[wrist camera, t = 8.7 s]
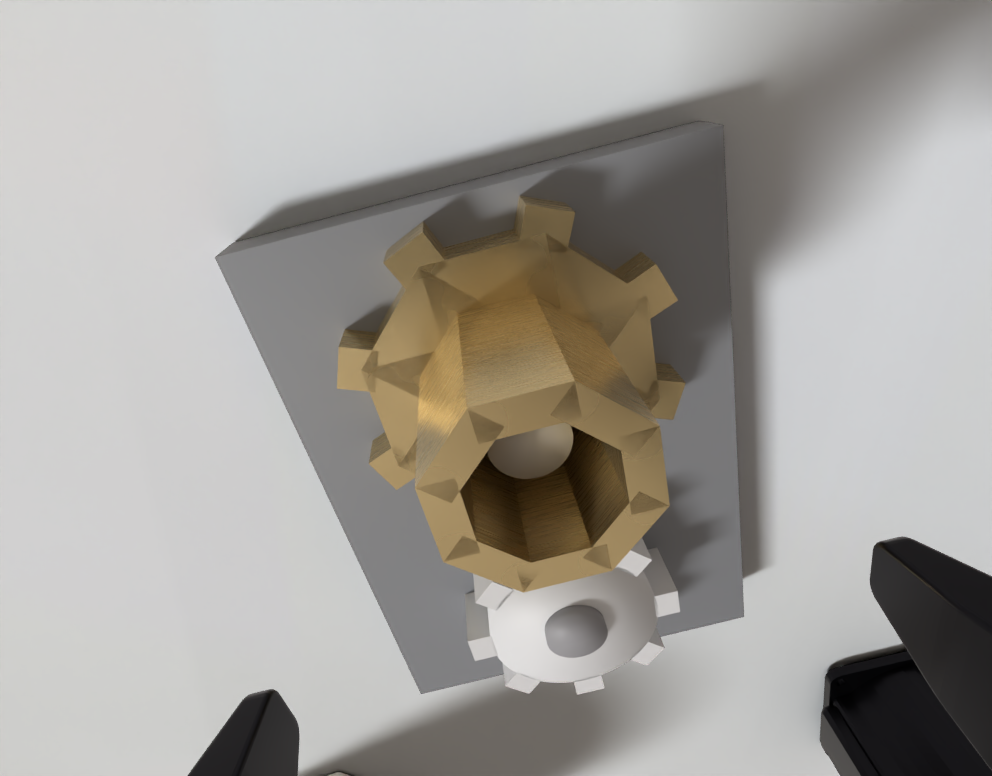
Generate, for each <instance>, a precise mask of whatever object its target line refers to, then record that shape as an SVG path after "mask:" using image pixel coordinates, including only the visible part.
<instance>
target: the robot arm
mask: <svg viewBox="0 0 992 776" xmlns="http://www.w3.org/2000/svg"><path fill="white" fill-rule="evenodd" d="M870 586H871V590H872V592H873V595H874V597H875V599H876V600H877V602H878V604H879V605H880V607H881V608H882V610H883V612H884V613H885V615H886V617H887V618H888V620H889V621H890V623H891V625H892V626H893V628H894V629H895V631H896V633H897V634H898V636H899V638H900V639H901V641H902V642H903V644H904V646H905V647H906V649H907V651H906V652H902V653H897V654H893V655H889V656H885V657H880V658H876V659H872V660H868V661H863V662H859V663H855V664H851V665H847V666H842V667H838V668H835V669H832V670H830V671H829V672H828V673H827V674H826V676H825V688H824V705H823V710H822V713H821V730H820V742H821V745H822V748H823V749H824V751H825V753H826V754H827V755H828V756H829V757H830V759H831V761H832V762H833V764H834V766H835V768H836V769H837V771H838V773H839V774H840V776H992V576H990V575H988V574H986V573H984V572H981V571H979V570H977V569H975V568H973V567H971V566H969V565H967V564H964V563H962V562H960V561H958V560H956V559H954V558H952V557H949V556H947V555H945V554H943V553H941V552H939V551H937V550H935V549H932V548H930V547H928V546H926V545H924V544H922V543H920V542H918V541H915V540H913V539H911V538H907V537H897V538H893V539H888V540H884V541H880V542H878V543H877V544H876V545H875V546H874V548H873V556H872V565H871V574H870ZM298 755H299V727H298V723H297V720H296V718H295V717H294V715H293V714H292V712H291V711H290V709H289V708H288V706H287V705H286V703H285V702H284V700H283V699H282V697H281V696H280V694H279V693H278V692H277V691H275V690H273V689H269V690H265V691H261V692H257V693H253V694H250V695H248V696H247V697H245V698H244V699H243V700H242V702H241V703H240V704H239V706H238V707H237V708H236V710H235V711H234V712H233V714H232V715H231V717H230V718H229V719H228V721H227V722H226V723H225V725H224V726H223V728H222V729H221V730H220V732H219V733H218V734H217V736H216V737H215V739H214V740H213V741H212V743H211V744H210V745H209V747H208V748H207V750H206V751H205V752H204V754H203V755H202V756H201V758H200V759H199V761H198V762H197V763H196V765H195V766H194V767H193V769H192V770H191V772H190V773H189V774H188V776H298Z"/></svg>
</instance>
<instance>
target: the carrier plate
mask: <svg viewBox="0 0 992 776" xmlns="http://www.w3.org/2000/svg"><path fill="white" fill-rule="evenodd" d="M519 196H525V197H532V198H538V199H545V200H552V201H558V202H565V203H566V204H568V205H569V206H570V207H571V208H572V209H573V210H574V211H575V217H574V221H573V226H572V231H571V236H570V240H569V242H570V243H572V244H573V245H575V246H577V247H578V248H580V249H581V250H583V251H585V252H586V253H588V254H589V255H591V256H593V257H594V258H596V259H597V260H599V261H601V262H602V263H604V264H606V265H607V266H609V267H610V268H612V269H614V270H616V269H617V268H618V267H620V266H621V265H623V264H624V263H626V262H627V261H628V260H630V259H631V258H633V257H634V256H635V255H637V254H638V253H640V252H642V253H644V254H645V255H646V256H647V257H648V258H650V259H651V260H652V261H653V262H654V263H656V264H657V266H658V268H659V269H660V271H661V273H662V274H663V276H664V278H665V279H666V281H667V283H668V284H669V286H670V288H671V289H672V291H673V293H674V294H675V296H676V298H677V299H678V301H676V302H675V303H673V304H672V305H670V306H669V307H667V308H666V309H664V310H663V311H661V312H660V313H658V314H657V315H656V316H654V317H653V318H651V319H650V322H651V330H652V339H653V347H654V355H655V363H662V364H670V365H671V366H672V367H673V368H674V369H675V371H676V372H677V373H678V374H679V375H680V377H681V378H682V379H683V380H684V381H685V383H686V384H685V387H684V390H683V393H682V396H681V399H680V402H679V405H678V407H677V410H676V413H675V416H674V419H673V420H668V419H657V418H655V419H656V421H657V422H658V424H659V425H660V430H661V438H662V446H663V454H664V463H665V471H666V479H667V487H668V495H669V503H670V506H669V507H668V508H667V509H666V511H665V512H664V513H663V514H662V515H661V516H660V517H659V518H658V520H657V521H656V522H655V523H654V524H653V525H652V526H651V528H650V529H649V530H648V531H647V532H646V533H645V534H644V535H643V537H642V538H641V539H640V540H639V541H638V542H637V543H636V545H635V546H634V547H633V548H632V549H631V550H630V551H629V552H628V554H627V555H626V556H625V557H624V558H623V559H622V560H621V562H620V563H619V564H618V565H617V566H616V567H615V568H614V569H613V571H609V572H605V573H601V574H597V575H593V576H589V577H585V578H581V579H577V580H573V581H569V582H565V583H560V584H556V585H552V586H548V587H544V588H540V589H536V590H532V591H528V592H520V591H518V590H515V589H513V588H510V587H507V586H505V585H502V584H499V583H497V582H494V581H491V580H489V579H486V578H484V577H481V576H478V575H476V574H473V573H470V572H468V571H465V570H462V569H460V568H457V567H455V566H452V565H449V564H447V563H444V562H443V560H442V558H441V555H440V553H439V550H438V547H437V545H436V542H435V540H434V537H433V534H432V532H431V529H430V527H429V524H428V521H427V519H426V516H425V514H424V511H423V509H422V506H421V503H420V501H419V498H418V496H417V493H416V490H415V478H414V479H412V480H411V481H409V482H408V483H406V484H405V485H403V486H402V487H400V488H399V489H398V490H396V489H395V488H394V487H393V486H392V485H391V484H390V483H389V482H387V481H386V480H385V479H384V478H383V477H382V476H381V475H380V474H379V473H378V472H377V471H376V470H375V469H374V468H373V467H371V466H370V465H369V459H370V453H371V447H372V441H373V440H374V439H376V438H377V437H379V436H380V435H381V434H383V433H384V432H385V430H384V428H383V425H382V423H381V420H380V418H379V415H378V413H377V410H376V407H375V405H374V402H373V400H372V397H371V395H370V392H367V391H356V390H346V389H337V373H338V349H339V344H340V341H341V339H342V336H343V333H344V330H345V329H349V330H358V331H367V332H377V330H378V328H379V326H380V325H381V323H382V321H383V319H384V317H385V316H386V314H387V312H388V310H389V308H390V307H391V305H392V303H393V301H394V299H395V298H396V296H397V294H398V292H399V290H400V289H401V287H402V284H401V283H400V282H399V281H398V280H397V278H396V277H395V276H394V275H393V274H392V273H391V271H390V270H389V269H388V268H387V267H386V266H385V264H384V263H383V262H384V258H385V254H386V251H387V249H389V248H390V247H391V246H392V245H394V244H395V243H396V242H397V241H399V240H400V239H401V238H403V237H404V236H405V235H406V234H408V233H409V232H410V231H411V230H413V229H414V228H415V227H417V226H418V225H419V224H420V223H422V222H423V221H424V223H425V224H426V225H427V226H428V228H429V229H430V230H431V232H432V233H433V234H434V235H435V237H436V238H437V239H438V240H439V242H440V243H441V244H442V246H443V247H448V246H451V245H455V244H459V243H463V242H466V241H470V240H474V239H478V238H482V237H485V236H489V235H493V234H497V233H500V232H504V231H508V230H512V229H514V223H515V217H516V212H517V206H518V200H519ZM215 259H216V261H217V263H218V265H219V267H220V269H221V271H222V273H223V276H224V278H225V280H226V282H227V284H228V286H229V288H230V290H231V293H232V295H233V297H234V299H235V301H236V303H237V305H238V307H239V309H240V312H241V314H242V316H243V318H244V320H245V322H246V324H247V326H248V329H249V331H250V333H251V335H252V337H253V339H254V341H255V343H256V345H257V348H258V350H259V352H260V354H261V356H262V358H263V360H264V362H265V365H266V367H267V369H268V371H269V373H270V375H271V377H272V379H273V381H274V384H275V386H276V388H277V390H278V392H279V394H280V396H281V398H282V401H283V403H284V405H285V407H286V409H287V411H288V413H289V415H290V417H291V420H292V422H293V424H294V426H295V428H296V430H297V432H298V434H299V437H300V439H301V441H302V443H303V445H304V447H305V449H306V451H307V453H308V456H309V458H310V460H311V462H312V464H313V466H314V468H315V470H316V473H317V475H318V477H319V479H320V481H321V483H322V485H323V487H324V489H325V492H326V494H327V496H328V498H329V500H330V502H331V504H332V506H333V509H334V511H335V513H336V515H337V517H338V519H339V521H340V523H341V526H342V528H343V530H344V532H345V534H346V536H347V538H348V540H349V542H350V545H351V547H352V549H353V551H354V553H355V555H356V557H357V559H358V562H359V564H360V566H361V568H362V570H363V572H364V574H365V576H366V578H367V581H368V583H369V585H370V587H371V589H372V591H373V593H374V595H375V598H376V600H377V602H378V604H379V606H380V608H381V610H382V612H383V614H384V617H385V619H386V621H387V623H388V625H389V627H390V629H391V631H392V634H393V636H394V638H395V640H396V642H397V644H398V646H399V648H400V650H401V653H402V655H403V657H404V659H405V661H406V663H407V665H408V667H409V670H410V672H411V674H412V676H413V678H414V680H415V682H416V684H417V686H418V689H419V691H420V693H421V694H424V693H428V692H432V691H436V690H440V689H444V688H449V687H453V686H457V685H461V684H465V683H469V682H474V681H478V680H482V679H486V678H490V677H495V676H499V675H503V674H504V680H505V686H506V687H509V688H512V689H515V690H518V691H522V692H525V693H528V694H530V693H531V691H532V690H533V689H534V688H535V687H536V686H537V685H538V684H539V683H540V682H541V681H543V682H553V683H568V682H574V685H575V689H576V692H577V695H579V694H583V693H587V692H591V691H596V690H600V689H604V684H603V680H602V675H603V674H606V673H608V672H611V671H613V670H615V669H617V668H619V667H620V666H622V665H624V664H625V663H627V662H628V661H629V660H632V661H635V662H638V663H640V664H643V665H646V666H647V665H648V664H649V663H650V662H651V661H652V660H653V659H654V658H655V657H656V656H657V655H658V654H659V653H660V652H661V651H662V650H663V649H664V648H665V647H664V645H663V642H662V640H661V638H660V637H662V636H666V635H670V634H674V633H678V632H682V631H687V630H691V629H695V628H699V627H703V626H708V625H712V624H716V623H720V622H724V621H728V620H733V619H737V618H741V617H744V603H743V579H742V556H741V532H740V508H739V485H738V461H737V438H736V414H735V390H734V367H733V343H732V319H731V296H730V272H729V249H728V225H727V201H726V178H725V154H724V130H723V125H721V124H715V123H709V122H702V121H697V122H693V123H689V124H685V125H682V126H678V127H674V128H670V129H666V130H662V131H659V132H655V133H651V134H647V135H643V136H639V137H636V138H632V139H628V140H624V141H620V142H616V143H613V144H609V145H605V146H601V147H597V148H594V149H590V150H586V151H582V152H578V153H574V154H571V155H567V156H563V157H559V158H555V159H551V160H548V161H544V162H540V163H536V164H532V165H528V166H525V167H521V168H517V169H513V170H509V171H505V172H502V173H498V174H494V175H490V176H486V177H483V178H479V179H475V180H471V181H467V182H463V183H460V184H456V185H452V186H448V187H444V188H440V189H437V190H433V191H429V192H425V193H421V194H417V195H414V196H410V197H406V198H402V199H398V200H394V201H391V202H387V203H383V204H379V205H375V206H372V207H368V208H364V209H360V210H356V211H352V212H349V213H345V214H341V215H337V216H333V217H329V218H326V219H322V220H318V221H314V222H310V223H306V224H303V225H299V226H295V227H291V228H287V229H283V230H280V231H276V232H272V233H268V234H264V235H261V236H257V237H253V238H249V239H245V240H241V241H238V242H234V243H232V244H231V245H229V246H228V247H227V248H226V249H225V250H223V251H222V252H221V253H220V254H218V255H217V256H216V257H215ZM572 445H573V432H572V428H571V426H570V425H569V424H567V423H565V422H564V423H560V424H556V425H552V426H548V427H544V428H540V429H536V430H533V431H529V432H525V433H521V434H517V435H513V436H509V437H505V438H501V439H497V440H495V441H494V443H493V444H492V446H491V447H490V448H489V450H488V451H487V454H488V457H489V459H490V461H491V462H492V464H493V465H494V466H495V467H496V468H497V469H498V470H499V471H501V472H502V473H504V474H506V475H508V476H511V477H515V478H520V479H532V478H538V477H541V476H544V475H547V474H549V473H551V472H553V471H554V470H556V469H557V468H558V467H559V466H561V465H562V464H563V463H564V461H565V460H566V459H567V457H568V456H569V454H570V452H571V449H572Z"/></svg>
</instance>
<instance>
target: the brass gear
mask: <svg viewBox="0 0 992 776" xmlns="http://www.w3.org/2000/svg"><path fill="white" fill-rule="evenodd" d="M574 217H575V211H574V210H573V209H572V208H571V207H570V206H569V205H568V204H566V203H565V202H558V201H552V200H545V199H538V198H532V197H525V196H519V200H518V206H517V212H516V217H515V223H514V229H512V230H508V231H504V232H500V233H497V234H493V235H489V236H485V237H482V238H478V239H474V240H470V241H466V242H463V243H459V244H455V245H451V246H448V247H443V246H442V244H441V243H440V242H439V240H438V239H437V238H436V237H435V235H434V234H433V233H432V232H431V230H430V229H429V228H428V226H427V225H426V224H425V223H424V221H423V222H422V223H420V224H419V225H418V226H417V227H415V228H414V229H413V230H411V231H410V232H409V233H408V234H406V235H405V236H404V237H403V238H401V239H400V240H399V241H397V242H396V243H395V244H394V245H392V246H391V247H390V248H389V249H387V251H386V254H385V258H384V262H383V263H384V264H385V266H386V267H387V268H388V269H389V270H390V271H391V273H392V274H393V275H394V276H395V277H396V278H397V280H398V281H399V282H400V283H401V284H402V287H401V289H400V290H399V292H398V294H397V296H396V298H395V299H394V301H393V303H392V305H391V307H390V308H389V310H388V312H387V314H386V316H385V317H384V319H383V321H382V323H381V325H380V326H379V328H378V330H377V332H367V331H358V330H349V329H345V330H344V333H343V336H342V339H341V341H340V344H339V349H338V373H337V389H346V390H356V391H367V392H370V395H371V397H372V400H373V402H374V405H375V407H376V410H377V413H378V415H379V418H380V420H381V423H382V425H383V428H384V430H385V432H384V433H383V434H381V435H380V436H379V437H377V438H376V439H374V440H373V441H372V447H371V453H370V459H369V465H370V466H371V467H373V468H374V469H375V470H376V471H377V472H378V473H379V474H380V475H381V476H382V477H383V478H384V479H385V480H386V481H387V482H389V483H390V484H391V485H392V486H393V487H394V488H395V489H396V490H398V489H399V488H400V487H402V486H403V485H405V484H406V483H408V482H409V481H411V480H412V479H414V478H415V490H416V493H417V496H418V498H419V501H420V503H421V506H422V509H423V511H424V514H425V516H426V519H427V521H428V524H429V527H430V529H431V532H432V534H433V537H434V540H435V542H436V545H437V547H438V550H439V553H440V555H441V558H442V560H443V562H444V563H447V564H449V565H452V566H455V567H457V568H460V569H462V570H465V571H468V572H470V573H473V574H476V575H478V576H481V577H484V578H486V579H489V580H491V581H494V582H497V583H499V584H502V585H505V586H507V587H510V588H513V589H515V590H518V591H520V592H528V591H532V590H536V589H540V588H544V587H548V586H552V585H556V584H560V583H565V582H569V581H573V580H577V579H581V578H585V577H589V576H593V575H597V574H601V573H605V572H609V571H613V569H614V568H615V567H616V566H617V565H618V564H619V563H620V562H621V560H622V559H623V558H624V557H625V556H626V555H627V554H628V552H629V551H630V550H631V549H632V548H633V547H634V546H635V545H636V543H637V542H638V541H639V540H640V539H641V538H642V537H643V535H644V534H645V533H646V532H647V531H648V530H649V529H650V528H651V526H652V525H653V524H654V523H655V522H656V521H657V520H658V518H659V517H660V516H661V515H662V514H663V513H664V512H665V511H666V509H667V508H668V507H669V506H670V503H669V495H668V487H667V479H666V471H665V463H664V454H663V446H662V438H661V430H660V425H659V424H658V422H657V421H656V419H655V418H657V419H668V420H673V419H674V416H675V413H676V410H677V407H678V405H679V402H680V399H681V396H682V393H683V390H684V387H685V384H686V383H685V381H684V380H683V379H682V378H681V377H680V375H679V374H678V373H677V372H676V371H675V369H674V368H673V367H672V366H671V365H670V364H662V363H655V355H654V347H653V339H652V330H651V322H650V319H651V318H653V317H654V316H656V315H657V314H658V313H660V312H661V311H663V310H664V309H666V308H667V307H669V306H670V305H672V304H673V303H675V302H676V301H678V299H677V298H676V296H675V294H674V293H673V291H672V289H671V288H670V286H669V284H668V283H667V281H666V279H665V278H664V276H663V274H662V273H661V271H660V269H659V268H658V266H657V264H656V263H654V262H653V261H652V260H651V259H650V258H648V257H647V256H646V255H645V254H644V253H642V252H640V253H638V254H637V255H635V256H634V257H633V258H631V259H630V260H628V261H627V262H626V263H624V264H623V265H621V266H620V267H618V268H617V269H616V270H614V269H612V268H610V267H609V266H607V265H606V264H604V263H602V262H601V261H599V260H597V259H596V258H594V257H593V256H591V255H589V254H588V253H586V252H585V251H583V250H581V249H580V248H578V247H577V246H575V245H573V244H572V243H570V242H569V240H570V236H571V231H572V226H573V221H574ZM564 422H565V423H567V424H569V425H570V426H571V428H572V432H573V445H572V449H571V452H570V454H569V456H568V457H567V459H566V460H565V461H564V463H563V464H562V465H561V466H559V467H558V468H557V469H556V470H554V471H553V472H551V473H549V474H547V475H544V476H541V477H538V478H532V479H520V478H515V477H511V476H508V475H506V474H504V473H502V472H501V471H499V470H498V469H497V468H496V467H495V466H494V465H493V464H492V462H491V461H490V459H489V457H488V454H487V451H488V450H489V448H490V447H491V446H492V444H493V443H494V441H495V440H497V439H501V438H505V437H509V436H513V435H517V434H521V433H525V432H529V431H533V430H536V429H540V428H544V427H548V426H552V425H556V424H560V423H564Z"/></svg>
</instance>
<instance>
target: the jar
mask: <svg viewBox="0 0 992 776" xmlns="http://www.w3.org/2000/svg"><path fill="white" fill-rule="evenodd" d="M327 776H350V775H347V774H344V773H341V772H336V773H333V774H330V775H327Z"/></svg>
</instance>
